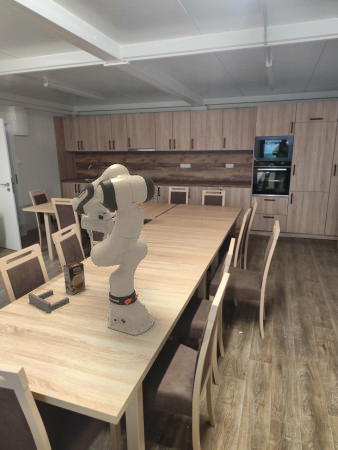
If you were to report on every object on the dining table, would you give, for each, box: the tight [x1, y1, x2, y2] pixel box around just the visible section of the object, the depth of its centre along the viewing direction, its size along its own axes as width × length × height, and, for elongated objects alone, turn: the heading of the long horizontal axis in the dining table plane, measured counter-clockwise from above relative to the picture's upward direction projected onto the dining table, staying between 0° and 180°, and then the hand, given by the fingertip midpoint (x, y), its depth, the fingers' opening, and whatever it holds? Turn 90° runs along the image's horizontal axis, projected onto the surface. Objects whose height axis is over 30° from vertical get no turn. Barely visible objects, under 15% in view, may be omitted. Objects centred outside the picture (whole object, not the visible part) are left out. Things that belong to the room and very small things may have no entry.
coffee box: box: [63, 261, 86, 296], centre depth 165 cm, size 9×6×16 cm
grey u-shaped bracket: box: [27, 289, 70, 314], centre depth 154 cm, size 18×12×5 cm
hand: (97, 238), depth 159 cm, fingers open, 8 cm apart
